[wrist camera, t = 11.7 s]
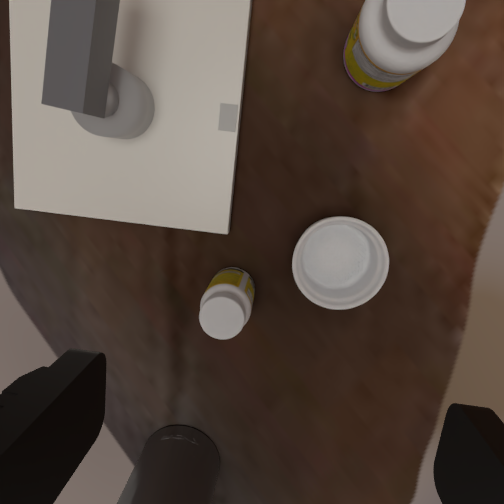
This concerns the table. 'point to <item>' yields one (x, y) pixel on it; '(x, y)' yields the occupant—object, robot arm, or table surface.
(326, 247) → the ramekin
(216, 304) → the supplement bottle
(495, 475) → the robot arm
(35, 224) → the table surface
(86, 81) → the handle
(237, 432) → the table surface
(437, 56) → the supplement bottle
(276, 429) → the table surface
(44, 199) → the base
